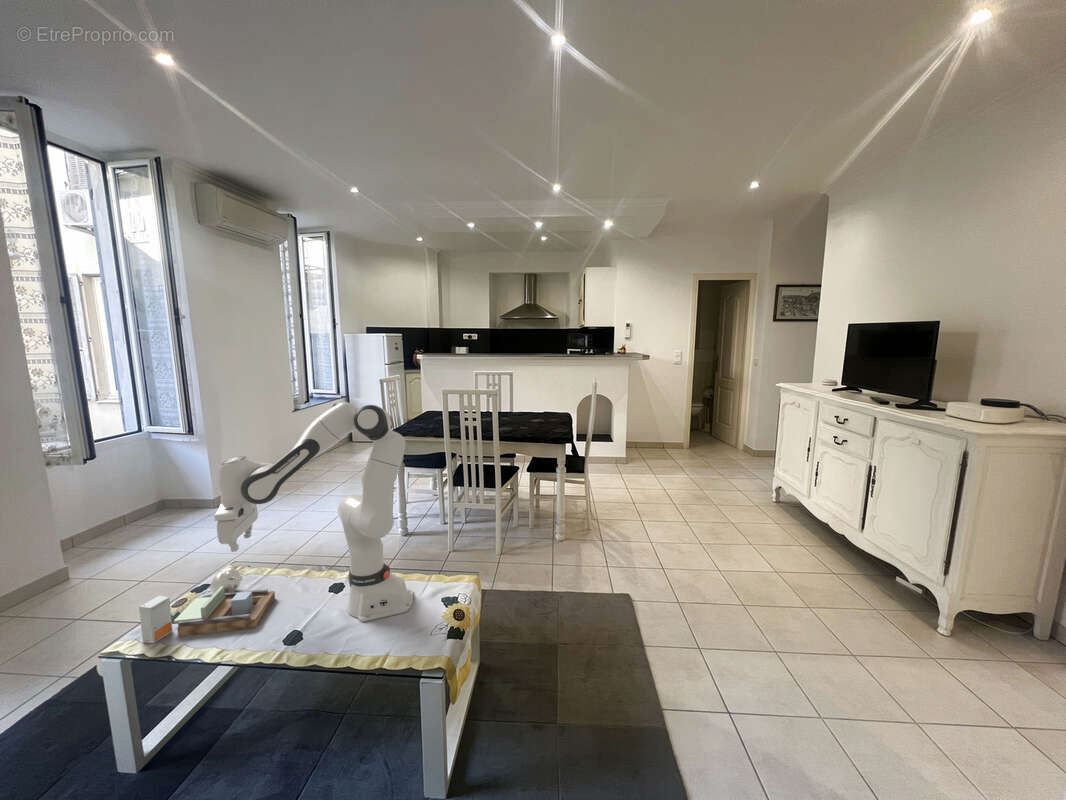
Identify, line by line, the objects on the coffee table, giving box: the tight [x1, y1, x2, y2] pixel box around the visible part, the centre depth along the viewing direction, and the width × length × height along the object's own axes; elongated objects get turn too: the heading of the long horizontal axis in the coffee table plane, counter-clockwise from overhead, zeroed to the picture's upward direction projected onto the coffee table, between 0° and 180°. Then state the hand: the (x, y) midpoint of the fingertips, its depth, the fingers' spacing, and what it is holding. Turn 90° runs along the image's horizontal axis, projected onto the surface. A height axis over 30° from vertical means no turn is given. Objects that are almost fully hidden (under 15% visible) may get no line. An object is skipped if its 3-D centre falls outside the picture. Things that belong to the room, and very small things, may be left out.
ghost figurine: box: [210, 567, 243, 594], centre depth 153 cm, size 9×10×10 cm
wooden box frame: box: [177, 588, 276, 637], centre depth 142 cm, size 22×16×4 cm
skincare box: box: [138, 595, 173, 645], centre depth 131 cm, size 6×4×12 cm
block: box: [231, 590, 254, 616], centre depth 142 cm, size 4×4×7 cm
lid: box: [173, 586, 225, 624], centre depth 139 cm, size 9×12×4 cm
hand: (241, 543), depth 141 cm, fingers open, 8 cm apart
